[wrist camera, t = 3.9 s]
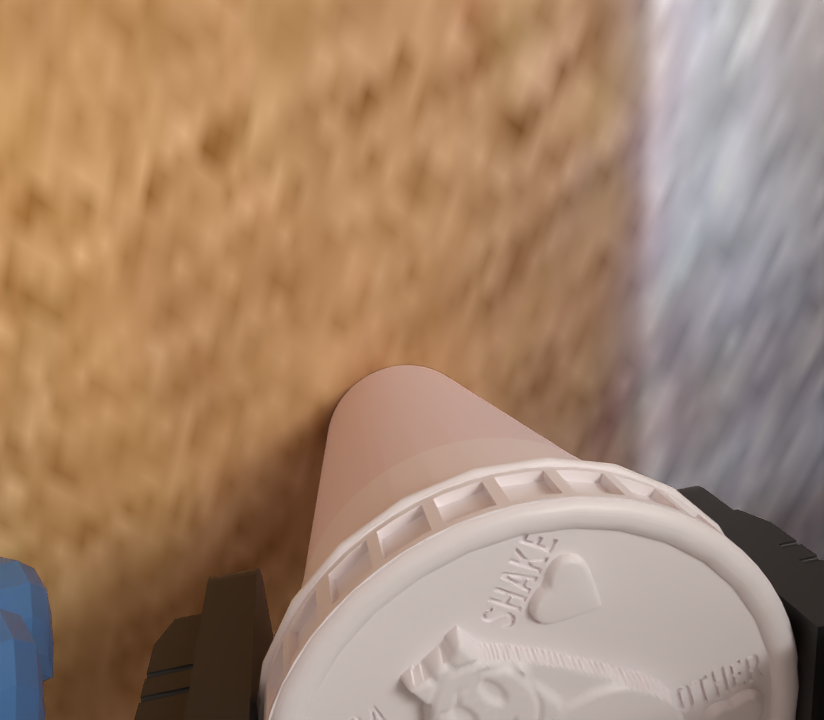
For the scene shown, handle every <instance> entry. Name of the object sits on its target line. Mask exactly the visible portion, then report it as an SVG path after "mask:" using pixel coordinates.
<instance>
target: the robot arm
mask: <svg viewBox="0 0 824 720" xmlns="http://www.w3.org/2000/svg"><path fill="white" fill-rule="evenodd" d="M677 491H678V492H679V493H681V494H682V495H683V496H684V497H685V498H687V499H688V500H689V501H690V502H691V503H693V504H694V505H695V506H696V507H697V508H699V509H700V510H701V511H702V512H703V513H705V514H706V515H707V516H708V517H709V518H711V519H712V520H713V521H714V522H715V523H717V524H718V525H719V527H720V528H721V530H722V531H723V533H724V535H725V536H726V537H727V538H728V539H729V540H731V541H732V542H733V543H734V544H736V545H737V546H738V547H739V548H740V549H742V550H743V551H744V552H745V553H746V554H747V555H748V556H749V557H750V558H751V559H752V561H753V562H754V563H755V564H756V565H757V566H758V567H759V568H760V570H761V571H762V572H763V573H764V575H765V576H766V577H767V579H768V580H769V581H770V583H771V584H772V586H773V588H774V590H775V591H776V593H777V595H778V596H779V598H780V600H781V602H782V604H783V607H784V609H785V611H786V614H787V616H788V619H789V621H790V624H791V628H792V632H793V635H794V639H795V643H796V649H797V656H798V662H797V668H798V679H799V692H798V700H797V709H796V717H795V720H824V560H818V558H817V555H815V554H814V553H812V552H811V551H810V550H808V549H807V548H805V547H804V546H803V545H801V544H800V545H797V543H796V540H794V539H793V538H791V537H790V536H789V535H787V534H786V533H785V532H783V531H782V530H780V529H779V528H778V527H776V526H775V525H773V524H772V523H770V522H768V521H765V520H763V519H760V518H758V517H755V516H753V515H750V514H748V513H745V512H743V511H740V510H732V509H731V508H729V507H728V506H727V505H725V504H724V503H723V502H721V501H720V500H719V499H717V498H716V497H715V496H713V495H712V494H711V493H709V492H708V491H707V490H705V489H704V488H702V487H700V486H694V487H689V488H684V489H678V490H677ZM273 639H274V638H273V633H272V627H271V622H270V617H269V611H268V606H267V601H266V595H265V590H264V584H263V579H262V575H261V572H260V569H259V568H255V569H250V570H245V571H239V572H234V573H229V574H224V575H218V576H213V577H210V578H209V579H208V583H207V589H206V595H205V600H204V606H203V612H202V614H198V615H193V616H188V617H183V618H177V619H175V620H174V621H173V622H172V624H171V625H170V626H169V627H168V629H167V630H166V631H165V632H164V634H163V635H162V636H161V637H160V639H159V640H158V641H157V642H156V644H155V645H154V648H153V652H152V656H151V659H150V663H149V667H148V671H147V679H145V682H144V686H143V690H142V694H141V703H139V705H138V709H137V713H136V716H135V720H259V719H258V713H257V698H258V691H259V684H260V677H261V670H262V663H263V661H264V658H265V656H266V654H267V652H268V650H269V648H270V646H271V643H272V641H273Z"/></svg>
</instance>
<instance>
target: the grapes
mask: <svg viewBox="0 0 824 720" xmlns="http://www.w3.org/2000/svg"><path fill="white" fill-rule="evenodd" d="M51 677H53V632H52V620H51V610H50V605H49V600H48V594H47V589H46V588H45V586H44V584H43V583H42V581H41V579H40V578H39V576H38V574H37V573H36V571H35V569H34V568H32V567H30V566H28V565H26V564H23V563H21V562H19V561H17V560H12V559H7V558H2V557H0V720H45V708H44V694H43V681H45V680H47V679H49V678H51Z"/></svg>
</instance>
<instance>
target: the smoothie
mask: <svg viewBox="0 0 824 720" xmlns="http://www.w3.org/2000/svg"><path fill="white" fill-rule="evenodd" d="M797 662H798V656H797V649H796V643H795V639H794V635H793V632H792V628H791V624H790V621H789V619H788V616H787V614H786V611H785V609H784V607H783V604H782V602H781V600H780V598H779V596H778V595H777V593H776V591H775V590H774V588H773V586H772V584H771V583H770V581H769V580H768V579H767V577H766V576H765V575H764V573H763V572H762V571H761V570H760V568H759V567H758V566H757V565H756V564H755V563H754V562H753V561H752V559H751V558H750V557H749V556H748V555H747V554H746V553H745V552H744V551H743V550H742V549H740V548H739V547H738V546H737V545H736V544H734V543H733V542H732V541H731V540H729V539H728V538H727V537H726V536H725V535H724V533H723V531H722V530H721V528H720V527H719V525H718V524H717V523H715V522H714V521H713V520H712V519H711V518H709V517H708V516H707V515H706V514H705V513H703V512H702V511H701V510H700V509H699V508H697V507H696V506H695V505H694V504H693V503H691V502H690V501H689V500H688V499H687V498H685V497H684V496H683V495H682V494H681V493H679V492H678V491H677V490H676V489H675V488H673V487H671V486H669V485H666V484H664V483H661V482H659V481H656V480H654V479H651V478H649V477H646V476H644V475H641V474H639V473H636V472H634V471H631V470H629V469H626V468H624V467H621V466H619V465H616V464H613V463H603V462H594V461H584V460H580V459H579V458H577V457H575V456H573V455H571V454H569V453H568V452H566V451H565V450H563V449H561V448H560V447H558V446H557V445H555V444H553V443H552V442H550V441H549V440H547V439H545V438H544V437H542V436H541V435H539V434H538V433H536V432H534V431H533V430H531V429H530V428H528V427H526V426H525V425H523V424H522V423H520V422H519V421H517V420H515V419H514V418H512V417H511V416H509V415H507V414H506V413H504V412H503V411H501V410H499V409H498V408H496V407H495V406H493V405H492V404H490V403H488V402H487V401H485V400H484V399H482V398H480V397H479V396H477V395H476V394H474V393H473V392H471V391H469V390H468V389H466V388H465V387H463V386H461V385H460V384H458V383H457V382H455V381H453V380H452V379H450V378H449V377H447V376H445V375H444V374H442V373H440V372H438V371H435V370H433V369H430V368H426V367H422V366H415V365H400V366H393V367H389V368H385V369H382V370H379V371H376V372H374V373H372V374H370V375H368V376H366V377H365V378H363V379H362V380H360V381H359V382H357V383H356V384H355V385H354V386H353V387H351V388H350V390H349V391H348V392H347V393H346V394H345V395H344V396H343V398H342V399H341V400H340V402H339V403H338V405H337V407H336V409H335V411H334V413H333V415H332V418H331V421H330V425H329V430H328V435H327V441H326V447H325V453H324V459H323V465H322V471H321V477H320V483H319V489H318V495H317V501H316V507H315V513H314V519H313V525H312V531H311V537H310V544H309V550H308V556H307V562H306V568H305V574H304V579H303V582H302V586H301V589H300V591H299V592H298V593H297V594H296V595H295V596H294V598H293V599H292V600H291V603H290V605H289V607H288V609H287V611H286V613H285V616H284V618H283V620H282V622H281V624H280V626H279V628H278V631H277V633H276V635H275V637H274V639H273V641H272V643H271V646H270V648H269V650H268V652H267V654H266V656H265V658H264V661H263V663H262V670H261V677H260V684H259V691H258V698H257V713H258V719H259V720H795V717H796V709H797V700H798V692H799V679H798V668H797Z"/></svg>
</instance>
